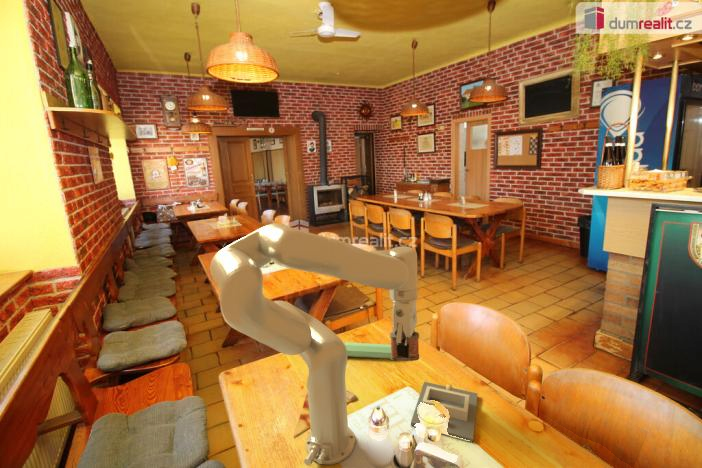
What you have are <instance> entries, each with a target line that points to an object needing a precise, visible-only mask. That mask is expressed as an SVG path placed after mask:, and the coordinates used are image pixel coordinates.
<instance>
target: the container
mask: <svg viewBox="0 0 702 468" xmlns="http://www.w3.org/2000/svg"><path fill="white" fill-rule="evenodd" d="M343 343H344V344H345V346H346V349H347V355H348V356H347V358H350V357H351V358H352V357H354V358H370V359H372V358H373V359H390V360H392V359H391V343H390V344H387V343H370V342H369V343H366V342H364V343H363V342H349V341H348V342H346V341H343Z"/></svg>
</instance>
